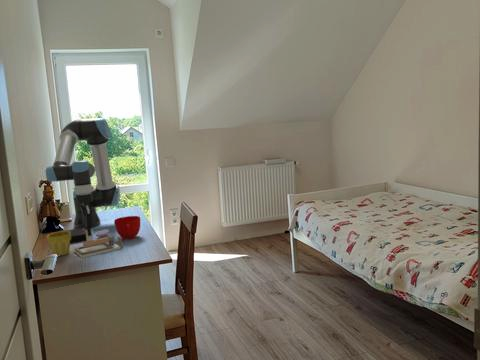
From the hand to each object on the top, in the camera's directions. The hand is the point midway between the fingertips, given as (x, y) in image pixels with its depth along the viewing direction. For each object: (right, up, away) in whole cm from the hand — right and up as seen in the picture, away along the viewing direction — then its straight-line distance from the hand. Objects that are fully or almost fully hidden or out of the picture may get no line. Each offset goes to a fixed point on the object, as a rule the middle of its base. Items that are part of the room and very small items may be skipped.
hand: (90, 242), depth 213 cm
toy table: (+3, -2, +12) cm, 12 cm away
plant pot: (-12, -5, -4) cm, 14 cm away
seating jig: (+4, -4, -2) cm, 6 cm away
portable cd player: (-19, -3, +23) cm, 30 cm away
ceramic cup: (+15, -1, +16) cm, 22 cm away
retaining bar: (+5, -1, -2) cm, 5 cm away
